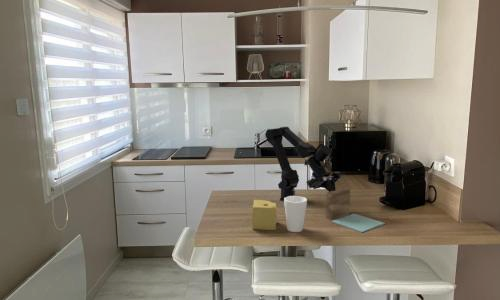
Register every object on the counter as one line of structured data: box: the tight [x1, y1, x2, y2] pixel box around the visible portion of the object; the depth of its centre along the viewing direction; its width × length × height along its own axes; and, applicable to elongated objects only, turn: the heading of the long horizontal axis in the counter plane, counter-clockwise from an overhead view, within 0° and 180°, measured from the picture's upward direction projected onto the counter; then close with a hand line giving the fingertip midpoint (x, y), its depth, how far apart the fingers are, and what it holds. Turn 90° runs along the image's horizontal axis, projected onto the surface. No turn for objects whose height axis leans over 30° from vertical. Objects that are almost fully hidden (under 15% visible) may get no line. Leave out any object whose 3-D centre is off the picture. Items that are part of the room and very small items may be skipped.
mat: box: [331, 213, 385, 233], centre depth 172 cm, size 16×16×1 cm
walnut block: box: [325, 187, 351, 221], centre depth 180 cm, size 4×12×12 cm, turn 129°
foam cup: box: [283, 195, 308, 233], centre depth 164 cm, size 10×9×13 cm
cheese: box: [251, 199, 278, 231], centre depth 168 cm, size 10×11×10 cm
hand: (335, 194), depth 181 cm, fingers closed, pressing on walnut block
